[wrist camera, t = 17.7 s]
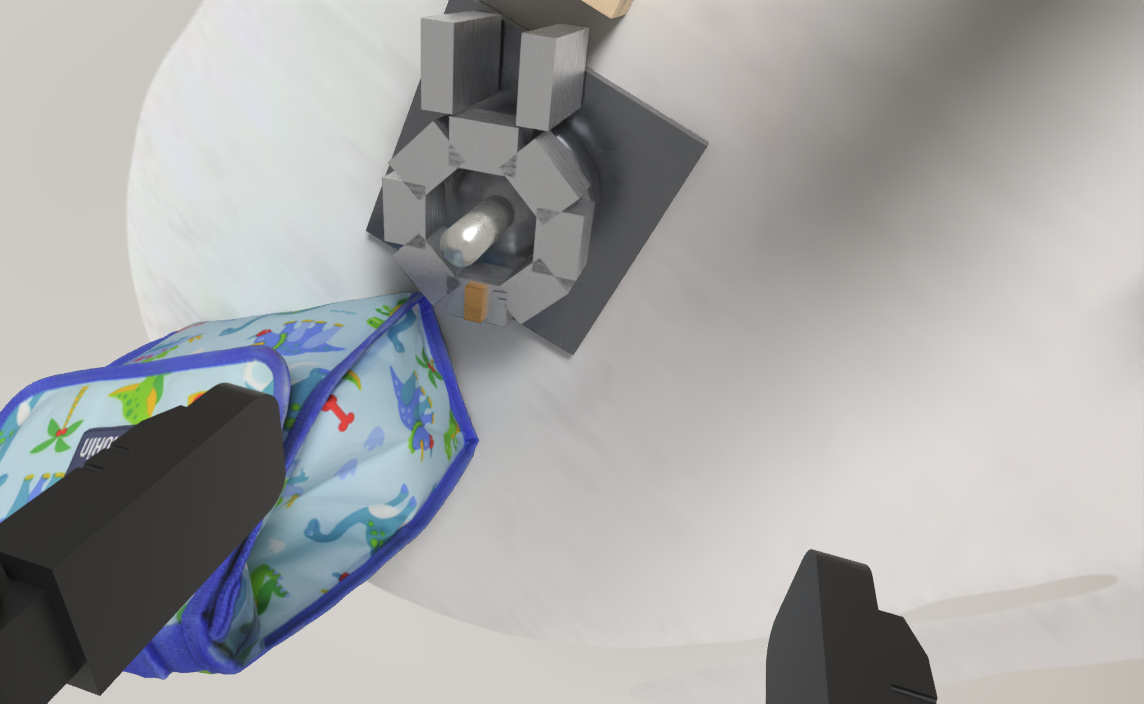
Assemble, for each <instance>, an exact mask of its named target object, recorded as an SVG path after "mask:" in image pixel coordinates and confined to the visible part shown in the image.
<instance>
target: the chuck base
mask: <svg viewBox="0 0 1144 704" xmlns="http://www.w3.org/2000/svg"><path fill="white" fill-rule="evenodd" d="M473 10H474V11H481V12H487V13H494V14H501V13H499V12H498V11H496V10H495V9H493V8H491V7H490V6H488V5H487V4H485V3H483V2H482V1H480V0H449V1H448V4H447V7H446V10H445V12H444V15H445V14H452V13H459V12H466V11H473ZM501 15H502V23H501V43H500V63H499V83H498V94H496V95H494V96H492V97H490V98H487V99H485V100H483V101H481V102H479V103H476V104H474V105H472V106H470V108H476V109H481V110H487V111H493V112H499V113H505V114H511V115H516V113H517V98H518V82H519V67H520V51H521V36H522V33H524V32H528V30H527V29H525V28H524V27H522V26H520V25H519V24H517V23H516V22H514V21H512V20H511V19H509V18H507V17H506V16H504V15H503V14H501ZM463 110H464V109H463ZM461 111H462V110H461ZM459 112H460V111H459ZM457 113H458V112H457ZM445 115H447V114H446V113H440V112H434V111H428V110H423V109H421V79H420V82H419V85H418V87H417V90H416V93H415V96H414V98H413V101H412V104H411V107H410V110H409V112H408V115H407V118H406V121H405V123H404V126H403V129H402V132H401V135H400V137H399V140H398V143H397V146H396V148H395V151H394V154H393V157H395V156H396V155H397V154H398V153H399V152H400V151H401V150H402V149H403V148H404V147H405V146H406V145H408V144H409V143H410V142H411V141H412V140H413V139H414V138H415V137H416V136H417V135H418V134H419V133H421V132H422V131H423V130H424V129H425V128H426V127H427V126H428V125H429V124H430V123H431V122H432V121H434V120H436V119H438V118H440V117H443V116H445ZM551 131H552V133H553V134H554V135H555V137H556V138H557V140H558V141H559V142H560V144H561V145H562V146H563V148H564V149H565V151H566V152H567V153H568V155H569V156H570V157H571V159H572V160H573V161H574V163H575V164H576V166H577V167H578V168H579V170H580V171H581V172H582V174H583V175H584V177H585V178H586V179H587V181H588V182H589V183H590V186H589V188H588V189H587V190H586V191H585V192H584V194H583V195H582V196H581V197H580V198H579V199H584V200H589V201H594V202H595V206H594V213H593V221H592V229H591V236H590V244H589V252H588V259H587V264H586V266H585V267H584V269H583V270H582V272H581V274H580V275H579V277H578V279H577V280H576V282H575V283H574V285H573V287H572V288H571V290H570V291H569V293H568V294H567V295H565V296H564V297H562V298H561V299H559V300H558V301H556V302H555V303H553V304H551V305H550V306H548V307H547V308H545V309H544V310H542V311H541V312H539V313H538V314H536V315H534V316H533V317H531V318H530V319H528V320H527V321H525V322H524V323H522V325H524V326H526V327H527V328H529V329H531V330H532V331H534V332H536V333H537V334H539V335H541V336H542V337H544V338H546V339H547V340H549V341H551V342H552V343H554V344H556V345H557V346H559V347H561V348H562V349H564V350H566V351H567V352H569V353H571V354H572V355H574V353H575V352H576V350H577V348H578V347H579V345H580V344H581V342H582V341H583V339H584V338H585V336H586V334H587V333H588V331H589V330H590V328H591V327H592V325H593V323H594V322H595V320H596V319H597V317H598V316H599V314H600V313H601V311H602V309H603V308H604V306H605V305H606V303H607V302H608V300H609V299H610V297H611V295H612V294H613V292H614V291H615V289H616V288H617V286H618V285H619V283H620V281H621V280H622V278H623V277H624V275H625V274H626V272H627V270H628V269H629V267H630V266H631V264H632V263H633V261H634V260H635V258H636V256H637V255H638V253H639V252H640V250H641V249H642V247H643V246H644V244H645V242H646V241H647V239H648V238H649V236H650V235H651V233H652V231H653V230H654V228H655V227H656V225H657V224H658V222H659V221H660V219H661V217H662V216H663V214H664V213H665V211H666V210H667V208H668V207H669V205H670V203H671V202H672V200H673V199H674V197H675V196H676V194H677V192H678V191H679V189H680V188H681V186H682V185H683V183H684V182H685V180H686V178H687V177H688V175H689V174H690V172H691V171H692V169H693V168H694V166H695V164H696V163H697V161H698V160H699V158H700V157H701V155H702V154H703V152H704V150H705V149H706V147H707V145H708V142H707V141H705V140H704V139H702V138H700V137H699V136H697V135H696V134H694V133H692V132H691V131H689V130H688V129H686V128H684V127H683V126H681V125H680V124H678V123H676V122H675V121H673V120H671V119H670V118H668V117H667V116H665V115H663V114H662V113H660V112H659V111H657V110H655V109H654V108H652V107H651V106H649V105H647V104H646V103H644V102H643V101H641V100H639V99H638V98H636V97H635V96H633V95H631V94H630V93H628V92H626V91H625V90H623V89H622V88H620V87H618V86H617V85H615V84H614V83H612V82H610V81H609V80H607V79H606V78H604V77H602V76H601V75H599V74H598V73H596V72H594V71H593V70H591V69H589V68H588V67H586V66H585V72H584V81H583V90H582V99H581V107H580V108H579V109H578V110H576V111H575V112H574V113H572V114H571V115H570V116H568V117H567V118H565V119H564V120H563V121H561V122H560V123H559V124H557V125H556V126H555V127H553V128H552V129H551ZM543 132H545V131H544V130H538V129H533V138H532V141H533V140H534V139H535V138H536V137H538V136H539V135H541V134H542V133H543ZM393 157H392V158H393ZM393 171H394V170H393V168H392V167H391V166H390V165H389V168H388V171H387V173H386V175H388V174H390V173H392V172H393ZM536 219H537V217H536V216H535V214H534V213H533V212H532V210H531V209H530V208H529V207H528V205H527V204H526V203H525V201H524V200H523V199H522V197H521V196H520V195H519V193H518V192H517V191H516V190H515V188H514V187H513V186H512V184H511V183H510V182H509V180H508V179H507V178H506V177H505V176H500V175H495V174H490V173H484V172H479V171H474V170H468V169H463V168H462V169H460V170H459V171H458V172H457V173H456V174H454V175H453V176H452V177H451V178H450V179H449V180H447V181H446V182H445V219H444V226H445V227H446V228H447V230H446V231H445V232H444V233H443V234H442V236H441V239H440V248H441V251H442V254H443V255H444V257H445V258H446V259H447V260H448V261H449V262H450V263H452V264H454V265H456V266H461V267H465V266H469V265H471V264H473V263H474V262H475V261H478V262H483V263H488V264H493V265H497V266H502V267H507V268H512V269H514V268H516V267H517V266H519V265H520V264H521V263H523V262H524V261H526V260H527V259H528V258H530V257H531V256H533V254H534V242H535V230H536ZM366 231H367V232H369V233H371V234H372V235H374V236H376V237H377V238H379V239H381V240H382V241H384V213H383V185H382V187H381V190H380V193H379V196H378V198H377V201H376V204H375V207H374V209H373V212H372V215H371V218H370V221H369V223H368V226H367V229H366ZM384 242H386V243H387V244H389V245H391V246H392V247H394V248H396V249H397V250H399V249H400V248H401V247H403V246H404V245H402V244H397V243H392V242H388V241H384ZM512 319H514V320H516V319H515V318H514V317H512Z"/></svg>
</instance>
